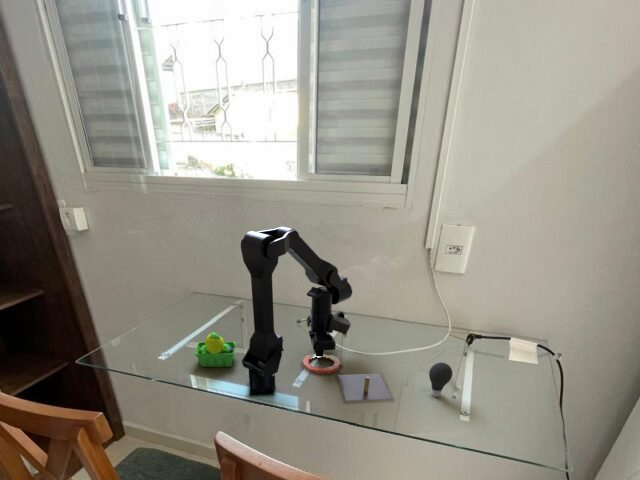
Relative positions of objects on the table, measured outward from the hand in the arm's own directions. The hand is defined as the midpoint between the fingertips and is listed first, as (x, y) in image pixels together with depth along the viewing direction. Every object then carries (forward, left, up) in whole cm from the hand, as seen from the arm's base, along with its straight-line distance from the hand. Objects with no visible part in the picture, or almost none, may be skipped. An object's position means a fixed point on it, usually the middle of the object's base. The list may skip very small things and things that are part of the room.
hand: (319, 357), depth 127 cm
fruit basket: (-31, -1, -1) cm, 31 cm away
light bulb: (+28, -23, -1) cm, 36 cm away
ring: (0, -5, 0) cm, 5 cm away
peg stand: (+10, -18, 0) cm, 20 cm away
